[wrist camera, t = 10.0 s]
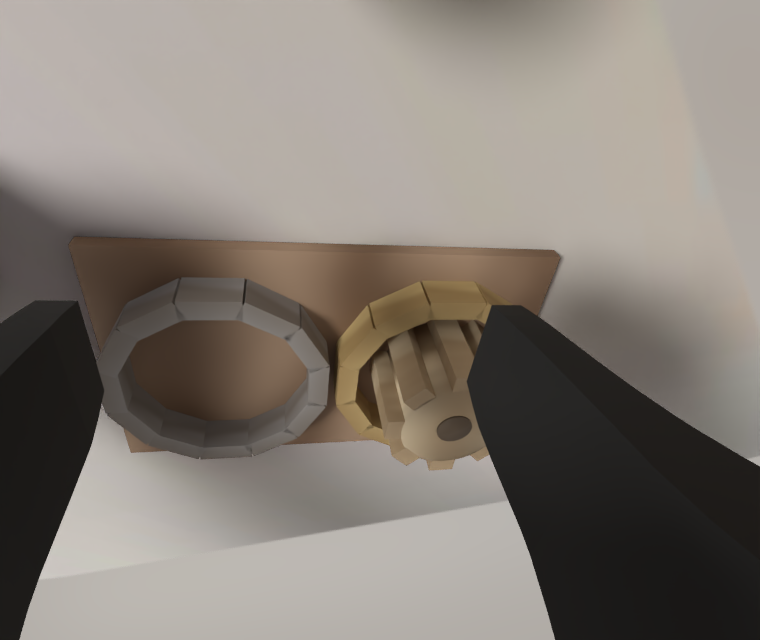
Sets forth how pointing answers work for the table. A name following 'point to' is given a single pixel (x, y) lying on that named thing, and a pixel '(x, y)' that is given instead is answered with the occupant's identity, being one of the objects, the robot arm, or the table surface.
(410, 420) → the gear
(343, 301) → the gear board
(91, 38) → the table surface
